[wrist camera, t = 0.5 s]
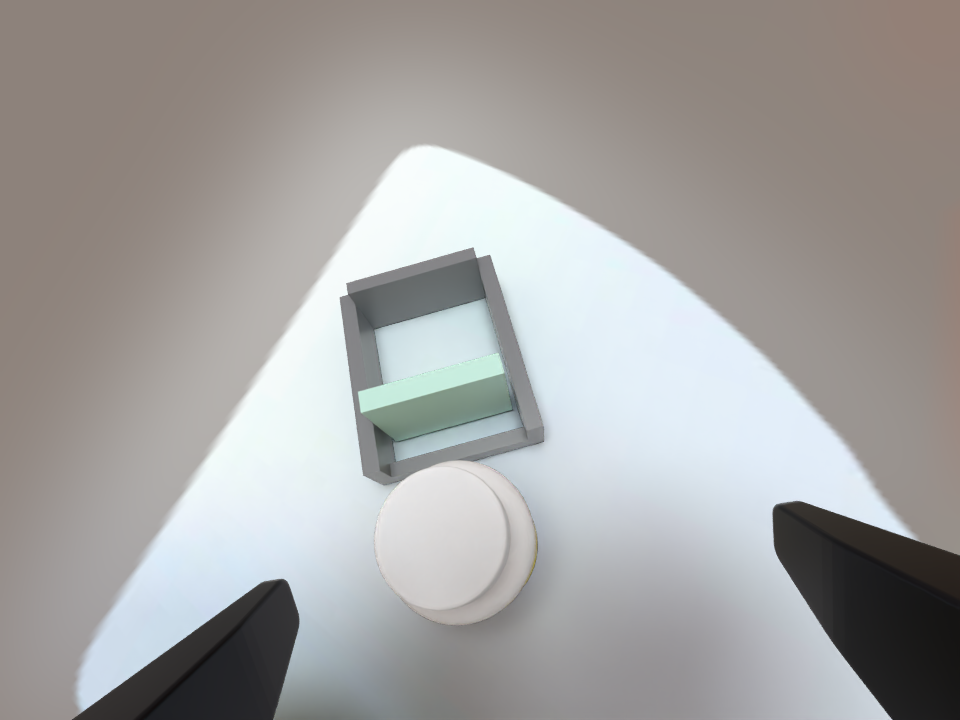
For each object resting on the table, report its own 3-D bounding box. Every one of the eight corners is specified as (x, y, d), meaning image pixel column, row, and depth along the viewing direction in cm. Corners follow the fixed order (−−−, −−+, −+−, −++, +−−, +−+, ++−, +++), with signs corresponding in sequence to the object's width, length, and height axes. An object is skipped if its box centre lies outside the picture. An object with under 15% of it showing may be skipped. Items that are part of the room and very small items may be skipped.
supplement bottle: (405, 562, 22) (312, 560, 14) (466, 466, 24) (419, 408, 15) (499, 634, 21) (463, 686, 12) (559, 525, 22) (568, 500, 13)
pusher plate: (512, 409, 24) (504, 373, 20) (396, 441, 25) (360, 412, 20) (507, 392, 25) (498, 352, 20) (393, 424, 25) (357, 391, 20)
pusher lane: (543, 441, 24) (543, 419, 20) (383, 485, 24) (355, 471, 20) (495, 284, 28) (487, 243, 24) (359, 322, 28) (331, 287, 25)
